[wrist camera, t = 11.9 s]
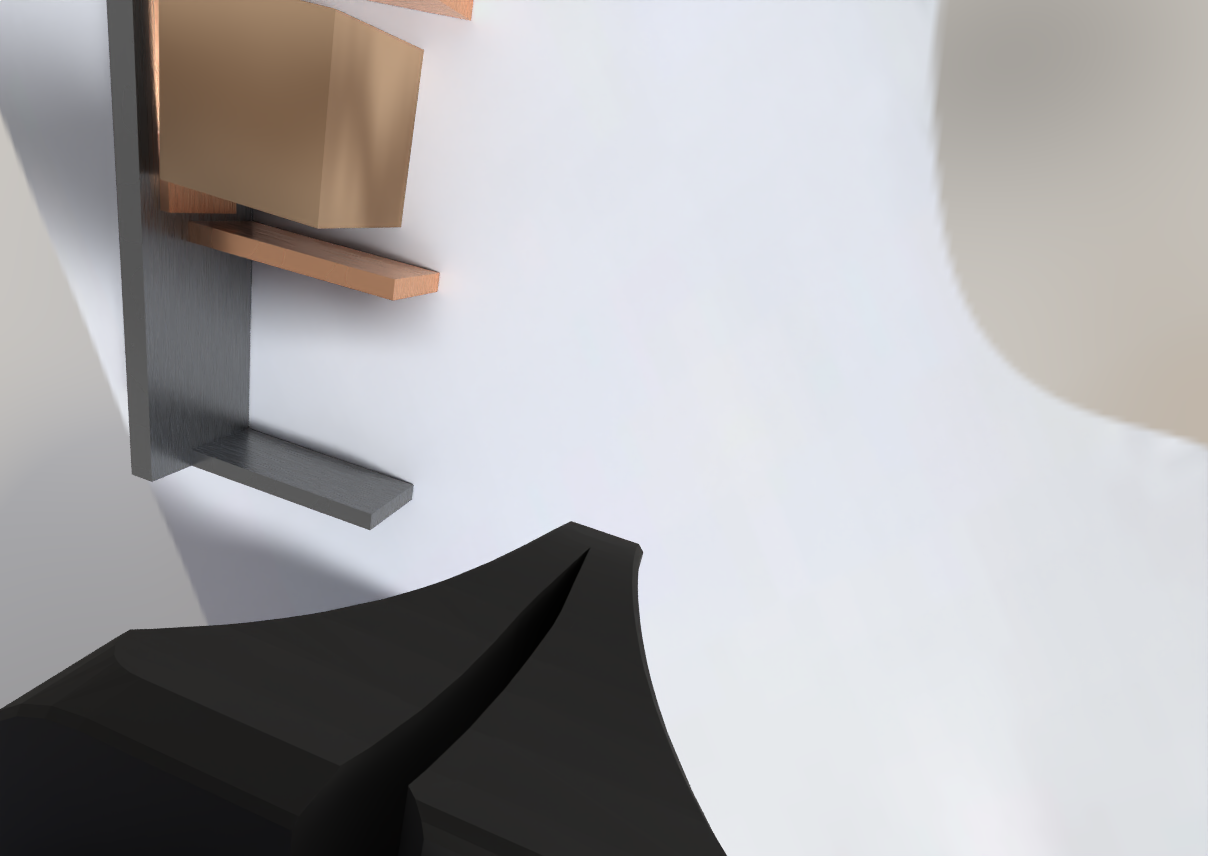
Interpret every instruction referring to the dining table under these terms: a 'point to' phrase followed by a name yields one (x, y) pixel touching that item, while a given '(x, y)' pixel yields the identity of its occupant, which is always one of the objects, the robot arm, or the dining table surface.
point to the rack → (220, 303)
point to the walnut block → (287, 109)
